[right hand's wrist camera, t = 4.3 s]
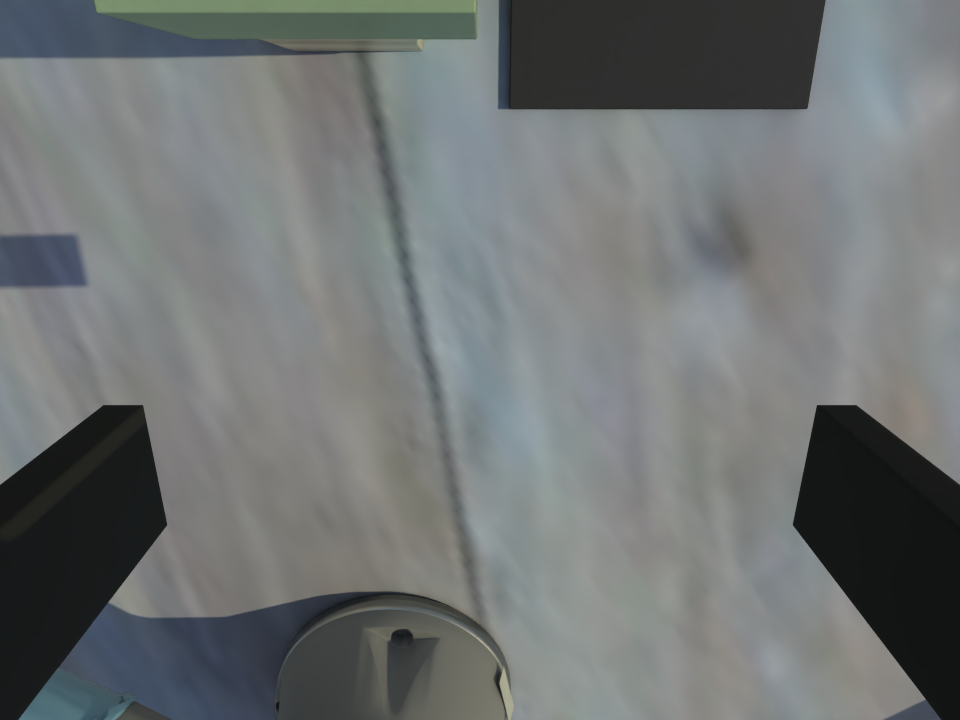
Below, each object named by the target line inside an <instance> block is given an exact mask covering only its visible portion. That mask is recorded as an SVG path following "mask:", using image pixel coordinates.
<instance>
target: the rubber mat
mask: <svg viewBox="0 0 960 720" xmlns="http://www.w3.org/2000/svg"><path fill="white" fill-rule="evenodd" d="M824 6H825V0H511V31H510V98H509V108H510V109H807V108H808V102H809V96H810V90H811V84H812V78H813V72H814V66H815V60H816V54H817V48H818V42H819V36H820V30H821V24H822V18H823V12H824Z"/></svg>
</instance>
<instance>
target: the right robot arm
mask: <svg viewBox="0 0 960 720" xmlns="http://www.w3.org/2000/svg"><path fill="white" fill-rule="evenodd" d="M166 526H167V522H166V517H165V512H164V507H163V502H162V497H161V492H160V487H159V482H158V477H157V472H156V467H155V462H154V457H153V452H152V447H151V442H150V438H149V433H148V428H147V423H146V418H145V413H144V408H143V405H103V406H102V407H101V408H99V409H98V410H97V411H96V412H94V413H93V414H92V415H90V416H89V417H88V418H86V419H85V420H84V421H83V422H81V423H80V424H79V425H77V426H76V427H75V428H73V429H72V430H71V431H70V432H68V433H67V434H66V435H64V436H63V437H62V438H61V439H59V440H58V441H57V442H55V443H54V444H53V445H51V446H50V447H49V448H48V449H46V450H45V451H44V452H42V453H41V454H40V455H38V456H37V457H36V458H35V459H33V460H32V461H31V462H29V463H28V464H27V465H25V466H24V467H23V468H22V469H20V470H19V471H18V472H16V473H15V474H14V475H12V476H11V477H10V478H9V479H7V480H6V481H5V482H3V483H2V484H1V485H0V720H171V719H169V718H167V717H165V716H163V715H161V714H159V713H157V712H155V711H153V710H151V709H149V708H147V707H145V706H143V705H141V704H139V703H137V702H135V700H136V699H137V696H135V695H133V694H131V693H130V692H127V693H123V694H119V693H117V692H114V691H112V690H110V689H107V688H105V687H103V686H100V685H98V684H96V683H93V682H91V681H89V680H86V679H84V678H82V677H79V676H77V675H75V674H72V673H70V672H68V671H65V670H63V669H60V668H58V667H59V666H60V665H61V663H62V662H63V661H64V659H65V658H66V657H67V655H68V654H69V653H70V652H71V650H72V649H73V648H74V646H75V645H76V644H77V642H78V641H79V640H80V638H81V637H82V636H83V635H84V633H85V632H86V631H87V629H88V628H89V627H90V625H91V624H92V623H93V621H94V620H95V619H96V617H97V616H98V615H99V614H100V612H101V611H102V610H103V608H104V607H105V606H106V604H107V603H108V602H109V600H110V599H111V598H112V597H113V595H114V594H115V593H116V591H117V590H118V589H119V587H120V586H121V585H122V583H123V582H124V581H125V580H126V578H127V577H128V576H129V574H130V573H131V572H132V570H133V569H134V568H135V566H136V565H137V564H138V563H139V561H140V560H141V559H142V557H143V556H144V555H145V553H146V552H147V551H148V549H149V548H150V547H151V545H152V544H153V543H154V542H155V540H156V539H157V538H158V536H159V535H160V534H161V532H162V531H163V530H164V528H165V527H166ZM793 526H794V527H795V528H796V530H797V531H798V532H799V534H800V535H801V536H802V538H803V539H804V540H805V542H806V543H807V544H808V545H809V547H810V548H811V549H812V551H813V552H814V553H815V555H816V556H817V557H818V559H819V560H820V561H821V563H822V564H823V565H824V566H825V568H826V569H827V570H828V572H829V573H830V574H831V576H832V577H833V578H834V580H835V581H836V582H837V583H838V585H839V586H840V587H841V589H842V590H843V591H844V593H845V594H846V595H847V597H848V598H849V599H850V600H851V602H852V603H853V604H854V606H855V607H856V608H857V610H858V611H859V612H860V614H861V615H862V616H863V617H864V619H865V620H866V621H867V623H868V624H869V625H870V627H871V628H872V629H873V631H874V632H875V633H876V635H877V636H878V637H879V638H880V640H881V641H882V642H883V644H884V645H885V646H886V648H887V649H888V650H889V652H890V653H891V654H892V655H893V657H894V658H895V659H896V661H897V662H898V663H899V665H900V666H901V667H902V669H903V670H904V671H905V672H906V674H907V675H908V676H909V678H910V679H911V680H912V682H913V683H914V684H915V686H916V687H917V688H918V689H919V691H920V692H921V693H922V695H923V696H924V697H925V699H926V700H927V701H928V703H929V704H930V705H931V707H932V708H933V709H934V710H935V712H936V713H937V714H938V716H939V717H940V718H941V720H960V485H959V484H958V483H957V482H955V481H954V480H953V479H951V478H950V477H949V476H948V475H946V474H945V473H944V472H942V471H941V470H940V469H938V468H937V467H936V466H935V465H933V464H932V463H931V462H929V461H928V460H927V459H925V458H924V457H923V456H922V455H920V454H919V453H918V452H916V451H915V450H914V449H912V448H911V447H910V446H909V445H907V444H906V443H905V442H903V441H902V440H901V439H899V438H898V437H897V436H896V435H894V434H893V433H892V432H890V431H889V430H888V429H887V428H885V427H884V426H883V425H881V424H880V423H879V422H877V421H876V420H875V419H874V418H872V417H871V416H870V415H868V414H867V413H866V412H864V411H863V410H862V409H861V408H859V407H858V406H857V405H817V408H816V413H815V418H814V423H813V428H812V433H811V437H810V442H809V447H808V452H807V457H806V462H805V467H804V472H803V477H802V482H801V487H800V492H799V497H798V502H797V507H796V512H795V517H794V522H793ZM274 706H275V720H511V717H512V712H513V708H514V705H513V701H512V697H511V684H510V674H509V670H508V666H507V663H506V660H505V658H504V655H503V654H502V652H501V650H500V648H499V646H498V645H497V644H496V642H495V641H494V639H493V638H492V637H491V636H490V635H489V634H488V632H486V631H485V630H484V629H483V628H482V627H481V626H480V625H479V624H478V623H476V622H475V621H474V620H472V619H471V618H469V617H468V616H466V615H465V614H463V613H461V612H459V611H457V610H456V609H454V608H451V607H449V606H447V605H444V604H442V603H438V602H435V601H432V600H428V599H424V598H420V597H414V596H406V595H376V596H368V597H362V598H358V599H354V600H350V601H347V602H344V603H341V604H339V605H337V606H334V607H332V608H330V609H328V610H326V611H325V612H323V613H321V614H319V615H318V616H317V617H315V618H314V619H312V620H311V621H310V622H309V623H308V624H307V625H306V626H304V627H303V629H302V630H301V631H300V632H299V633H298V634H297V636H296V637H295V638H294V640H293V641H292V643H291V645H290V647H289V648H288V651H287V653H286V656H285V659H284V661H283V664H282V667H281V670H280V672H279V676H278V681H277V686H276V692H275V702H274Z"/></svg>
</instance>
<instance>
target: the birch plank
mask: <svg viewBox="0 0 960 720" xmlns="http://www.w3.org/2000/svg"><path fill="white" fill-rule="evenodd" d="M261 40H264V41H267V42H270V43H273V44H276V45H278V46H281V47H284V48H287V49H290V50H293V51H423V39H261Z"/></svg>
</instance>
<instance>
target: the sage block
mask: <svg viewBox="0 0 960 720" xmlns="http://www.w3.org/2000/svg"><path fill="white" fill-rule="evenodd" d="M94 4H95V10H96V12H97V13H99V14H103V15H106V16H110V17H114V18H118V19H122V20H125V21H129V22H133V23H137V24H140V25H144V26H148V27H152V28H156V29H159V30H163V31H167V32H171V33H174V34H178V35H182V36H186V37H190V38H193V39H477V0H94Z"/></svg>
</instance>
